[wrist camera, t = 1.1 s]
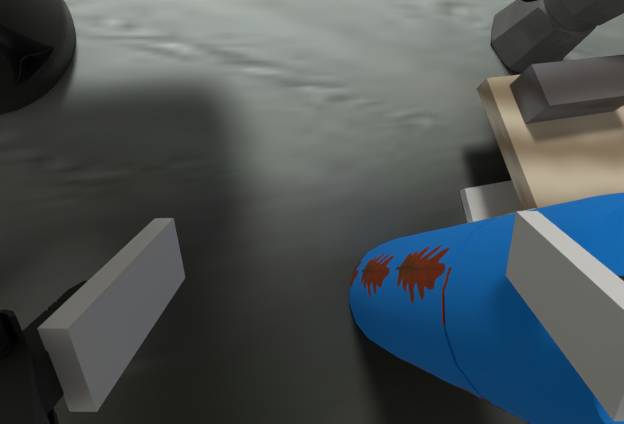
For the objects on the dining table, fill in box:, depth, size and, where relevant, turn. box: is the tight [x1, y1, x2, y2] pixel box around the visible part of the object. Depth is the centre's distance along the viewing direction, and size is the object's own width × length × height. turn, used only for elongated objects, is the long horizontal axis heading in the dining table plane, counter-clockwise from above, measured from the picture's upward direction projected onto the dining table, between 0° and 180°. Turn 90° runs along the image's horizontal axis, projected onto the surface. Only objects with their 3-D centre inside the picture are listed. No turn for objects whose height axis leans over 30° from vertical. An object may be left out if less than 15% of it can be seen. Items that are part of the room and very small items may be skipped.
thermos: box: [350, 192, 624, 424], centre depth 26 cm, size 11×11×25 cm
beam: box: [477, 55, 624, 210], centre depth 33 cm, size 28×14×5 cm, turn 11°
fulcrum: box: [460, 180, 536, 224], centre depth 38 cm, size 10×18×9 cm, turn 102°
